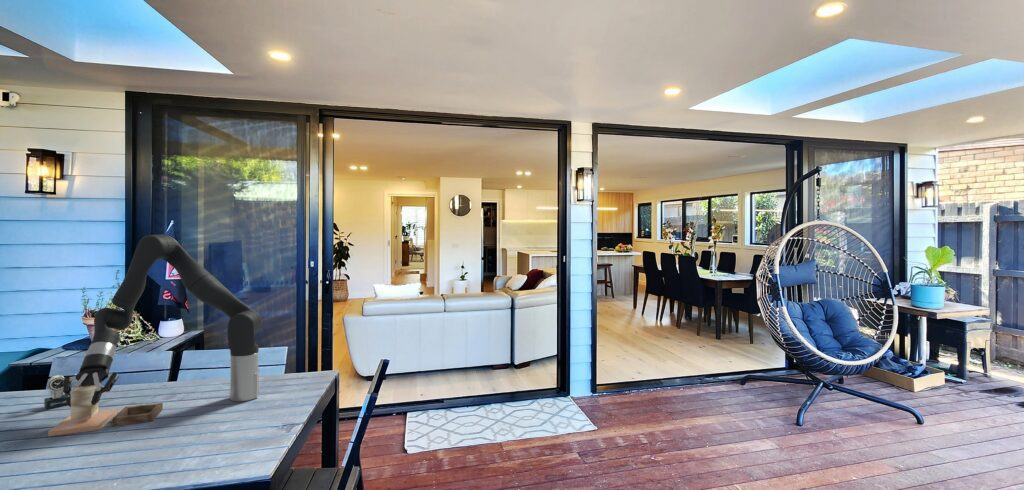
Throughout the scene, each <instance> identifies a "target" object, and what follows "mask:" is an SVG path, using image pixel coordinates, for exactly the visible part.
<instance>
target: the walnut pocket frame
mask: <svg viewBox="0 0 1024 490" xmlns="http://www.w3.org/2000/svg"><path fill="white" fill-rule="evenodd" d="M162 411H163V402H156V403H149V404H147V403H146V404H139V405H138V404H137V405H131V406H125V407H124V408H122V409H121V410H120V411H119V412H117V414H116V415H115V416H114V417H113V418H111V420H112V421H111V422H112V423H111V426H112V427H117V426H124V425H127V426H128V425H132V424H142V423H149V422H153V421H155V419H156V418H157V417H158V415H159V414H160V413H161V412H162Z"/></svg>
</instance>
